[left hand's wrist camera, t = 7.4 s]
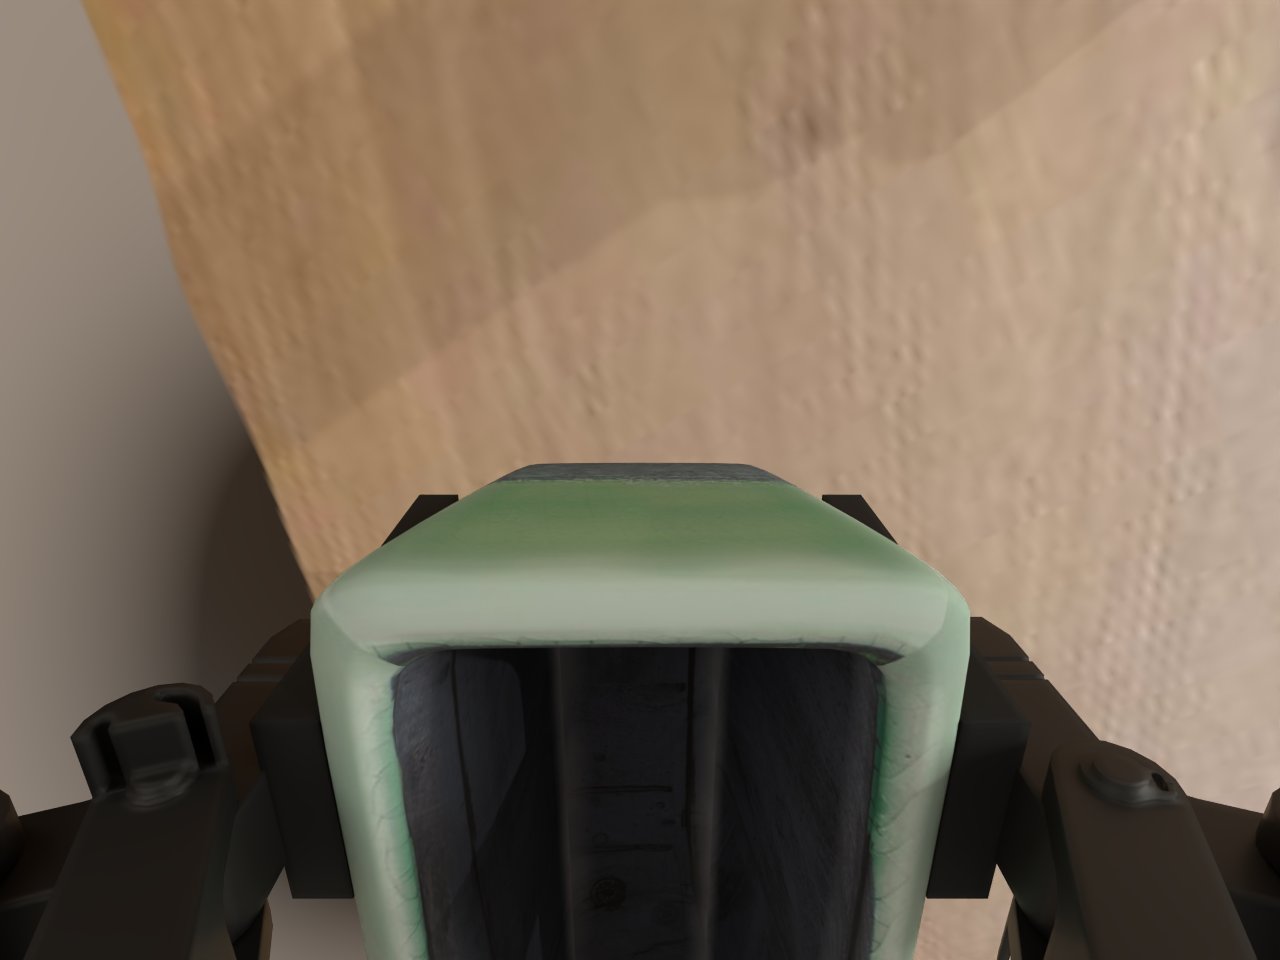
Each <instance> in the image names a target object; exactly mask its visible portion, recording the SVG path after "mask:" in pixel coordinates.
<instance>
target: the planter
mask: <svg viewBox="0 0 1280 960" xmlns="http://www.w3.org/2000/svg"><path fill="white" fill-rule="evenodd" d="M310 655H311V662H312V668H313V674H314V681H315V687H316V693H317V699H318V706H319V712H320V718H321V724H322V731H323V737H324V743H325V749H326V754H327V759H328V764H329V769H330V774H331V779H332V784H333V790H334V795H335V800H336V805H337V810H338V815H339V820H340V825H341V830H342V835H343V840H344V845H345V850H346V855H347V860H348V865H349V870H350V875H351V880H352V885H353V890H354V896H355V901H356V906H357V910H358V915H359V920H360V925H361V930H362V935H363V940H364V945H365V950H366V955H367V959H368V960H913V957H914V952H915V947H916V942H917V937H918V932H919V927H920V922H921V917H922V912H923V907H924V902H925V897H926V892H927V887H928V881H929V876H930V871H931V866H932V861H933V856H934V851H935V846H936V841H937V836H938V831H939V826H940V821H941V815H942V810H943V805H944V800H945V795H946V790H947V785H948V779H949V774H950V769H951V764H952V759H953V754H954V749H955V743H956V737H957V730H958V724H959V718H960V712H961V706H962V699H963V693H964V687H965V681H966V674H967V668H968V662H969V656H970V610H969V607H968V605H967V602H966V600H965V599H964V598H963V596H962V595H961V594H960V593H959V591H958V590H957V589H956V588H955V587H954V586H953V585H952V584H951V583H950V582H949V581H948V580H947V579H946V578H945V577H944V576H943V575H942V574H941V573H940V572H938V571H937V570H935V569H934V568H932V567H931V566H929V565H928V564H927V563H925V562H924V561H922V560H921V559H919V558H918V557H917V556H915V555H914V554H912V553H911V552H909V551H907V550H906V549H904V548H902V547H901V546H899V545H897V544H896V543H894V542H892V541H891V540H889V539H887V538H886V537H884V536H883V535H881V534H879V533H878V532H876V531H874V530H873V529H871V528H869V527H868V526H866V525H864V524H863V523H861V522H859V521H858V520H856V519H854V518H852V517H850V516H849V515H847V514H845V513H843V512H842V511H840V510H838V509H836V508H835V507H833V506H831V505H829V504H828V503H826V502H824V501H822V500H820V499H819V498H817V497H815V496H813V495H811V494H809V493H808V492H806V491H804V490H802V489H800V488H798V487H797V486H795V485H793V484H791V483H789V482H787V481H785V480H783V479H781V478H779V477H777V476H775V475H773V474H771V473H769V472H767V471H765V470H762V469H760V468H757V467H754V466H751V465H745V464H724V463H559V464H535V465H529V466H526V467H523V468H521V469H518V470H516V471H514V472H511V473H509V474H507V475H505V476H503V477H501V478H499V479H498V480H496V481H494V482H492V483H490V484H488V485H486V486H484V487H482V488H481V489H479V490H477V491H475V492H473V493H472V494H470V495H468V496H466V497H464V498H462V499H461V500H459V501H457V502H455V503H453V504H452V505H450V506H448V507H447V508H445V509H443V510H441V511H440V512H438V513H436V514H434V515H433V516H431V517H429V518H427V519H426V520H424V521H422V522H420V523H419V524H417V525H416V526H414V527H412V528H411V529H409V530H408V531H406V532H404V533H403V534H401V535H399V536H398V537H396V538H395V539H393V540H391V541H390V542H388V543H386V544H385V545H383V546H381V547H380V548H378V549H376V550H375V551H373V552H372V553H370V554H369V555H367V556H366V557H364V558H363V559H361V560H360V561H359V562H357V563H356V564H354V565H353V566H351V567H350V568H349V569H347V570H346V571H344V572H343V573H342V574H341V575H340V576H338V577H337V578H336V579H335V580H334V581H333V582H332V583H331V584H330V585H329V586H328V587H327V588H326V589H325V590H324V591H323V593H322V594H321V595H320V596H319V597H318V598H317V599H316V601H315V603H314V605H313V608H312V610H311V642H310Z"/></svg>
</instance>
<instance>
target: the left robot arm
mask: <svg viewBox="0 0 1280 960" xmlns="http://www.w3.org/2000/svg"><path fill="white" fill-rule="evenodd" d="M457 501H459V499H458V495H419V496H418V498H417V499H416V500H415V502H414V503H413V504H412V506H411V507H410V508H409V510H408V511H407V512H406V514H405V515H404V516H403V518H402V519H401V520H400V522H399V523H398V524H397V526H396V527H395V528H394V530H393V531H392V532H391V534H390V535H389V536H388V538H387V539H386V540H385V542H384V543H383V544H382V546H383V545H385V544H386V543H388V542H390V541H391V540H393V539H395V538H396V537H398V536H399V535H401V534H403V533H404V532H406V531H408V530H409V529H411V528H412V527H414V526H416V525H417V524H419V523H420V522H422V521H424V520H426V519H427V518H429V517H431V516H433V515H434V514H436V513H438V512H440V511H441V510H443V509H445V508H447V507H448V506H450V505H452V504H453V503H455V502H457ZM822 501H824V502H826V503H828V504H829V505H831V506H833V507H835V508H836V509H838V510H840V511H842V512H843V513H845V514H847V515H849V516H850V517H852V518H854V519H856V520H858V521H859V522H861V523H863V524H864V525H866V526H868V527H869V528H871V529H873V530H874V531H876V532H878V533H879V534H881V535H883V536H884V537H886V538H887V539H889V540H891V541H892V542H894V543H896V544H897V542H896V541H895V540H894V538H893V537H892V536H891V534H890V533H889V532H888V530H887V529H886V528H885V526H884V525H883V524H882V522H881V521H880V520H879V518H878V517H877V516H876V514H875V513H874V512H873V510H872V509H871V508H870V506H869V505H868V504H867V502H866V501H865V500H864V498H863V497H862V496H861V495H822ZM897 545H898V544H897ZM310 642H311V619H299V620H297V621H296V622H294V623H293V624H291V625H290V626H288V627H287V628H285V629H283V630H282V631H280V632H279V633H277V634H276V635H274V636H273V637H271V638H270V639H269V640H268V642H267V643H266V644H265V645H264V646H263V647H262V649H261V650H260V651H259V652H258V653H257V655H256V656H255V657H254V658H253V659H252V664H248V665H247V666H246V668H245V669H244V670H243V671H242V672H241V674H240V675H239V676H238V677H237V682H233V683H232V684H231V685H230V687H229V688H228V689H227V690H226V691H225V693H224V694H223V695H222V696H221V697H220V698H219V700H218V701H217V702H216V703H214V700H213V696H212V694H211V693H210V692H208V691H207V690H206V689H204V688H203V687H202V686H199V685H193V684H187V683H175V684H165V685H157V686H153V687H150V688H147V689H143V690H140V691H136V692H133V693H130V694H128V695H126V696H124V697H122V698H119V699H117V700H115V701H113V702H111V703H109V704H107V705H105V706H103V707H102V708H101V709H99V710H98V711H96V712H95V713H94V714H92V715H91V716H89V717H88V718H87V719H85V720H84V721H83V722H82V723H81V725H80V726H79V727H78V728H77V729H76V731H75V732H74V733H73V734H72V736H71V737H70V738H71V740H72V743H73V746H74V748H75V751H76V754H77V757H78V759H79V762H80V765H81V767H82V770H83V773H84V775H85V778H86V781H87V784H88V786H89V789H90V792H91V794H92V797H93V798H92V799H91V800H87V801H84V802H80V803H76V804H71V805H67V806H62V807H58V808H53V809H49V810H45V811H40V812H36V813H31V814H27V815H23V816H18V815H17V813H16V811H15V808H14V806H13V803H12V801H11V799H10V796H9V795H8V794H6V793H5V792H3V791H2V790H0V960H269V958H270V948H271V938H272V929H273V924H272V917H271V911H270V907H269V903H268V899H267V897H268V895H269V894H270V892H271V890H272V888H273V886H274V884H275V882H276V881H277V879H278V877H279V875H280V873H281V871H282V869H283V867H284V866H285V870H286V874H287V878H288V882H289V886H290V890H291V894H292V898H354V890H353V885H352V880H351V875H350V870H349V865H348V860H347V855H346V850H345V845H344V840H343V835H342V830H341V825H340V820H339V815H338V810H337V805H336V800H335V795H334V790H333V784H332V779H331V774H330V769H329V764H328V759H327V754H326V749H325V743H324V737H323V731H322V724H321V718H320V712H319V706H318V699H317V693H316V687H315V681H314V674H313V668H312V662H311V655H310ZM996 864H997V865H998V867H999V869H1000V870H1001V872H1002V874H1003V876H1004V878H1005V880H1006V882H1007V884H1008V885H1009V887H1010V889H1011V891H1012V893H1013V895H1014V896H1013V899H1012V903H1011V907H1010V910H1009V914H1008V918H1007V921H1006V925H1005V929H1004V933H1003V936H1002V940H1001V944H1000V947H999V951H998V956H997V960H1009V958H1010V956H1011V960H1280V788H1279V789H1277V790H1276V791H1274V792H1273V793H1272V796H1271V798H1270V800H1269V803H1268V805H1267V807H1266V810H1265V812H1264V814H1263V813H1258V812H1254V811H1249V810H1245V809H1240V808H1236V807H1232V806H1227V805H1223V804H1218V803H1214V802H1210V801H1205V800H1201V799H1197V798H1193V797H1190V796H1187V795H1186V794H1185V792H1184V791H1183V789H1182V788H1181V786H1180V785H1179V784H1178V782H1177V781H1176V779H1175V778H1174V777H1172V776H1171V775H1170V774H1169V773H1167V772H1166V771H1165V770H1164V769H1163V768H1161V767H1160V766H1159V765H1158V764H1156V763H1155V762H1153V761H1152V760H1150V759H1148V758H1146V757H1144V756H1142V755H1140V754H1138V753H1137V752H1135V751H1133V750H1131V749H1128V748H1125V747H1122V746H1119V745H1116V744H1113V743H1110V742H1106V741H1100V740H1099V739H1098V738H1097V737H1096V736H1095V735H1094V733H1093V732H1092V731H1091V730H1090V729H1089V727H1088V726H1087V725H1086V724H1085V723H1084V722H1083V720H1082V719H1081V718H1080V717H1079V716H1078V715H1077V713H1076V712H1075V711H1074V710H1073V709H1072V707H1071V706H1070V705H1069V704H1068V703H1067V702H1066V700H1065V699H1064V698H1063V697H1062V696H1061V695H1060V693H1059V692H1058V691H1057V690H1056V689H1055V687H1054V686H1053V685H1052V684H1051V683H1050V682H1049V680H1045V679H1044V675H1043V673H1042V672H1041V671H1040V670H1039V669H1038V668H1037V666H1036V665H1035V664H1034V663H1033V662H1032V661H1029V657H1028V656H1027V655H1026V653H1025V652H1024V651H1023V650H1022V649H1021V648H1020V646H1019V645H1018V644H1017V643H1016V642H1015V640H1014V639H1013V638H1012V637H1011V636H1010V635H1009V634H1007V633H1006V632H1004V631H1003V630H1001V629H999V628H998V627H996V626H995V625H993V624H992V623H990V622H989V621H987V620H985V619H984V618H982V617H970V656H969V662H968V668H967V674H966V681H965V687H964V693H963V699H962V706H961V712H960V718H959V724H958V730H957V737H956V743H955V749H954V754H953V759H952V764H951V769H950V774H949V779H948V785H947V790H946V795H945V800H944V805H943V810H942V815H941V821H940V826H939V831H938V836H937V841H936V846H935V851H934V856H933V861H932V866H931V871H930V876H929V881H928V887H927V892H926V897H927V898H928V899H988V896H989V892H990V888H991V884H992V880H993V876H994V872H995V868H996Z"/></svg>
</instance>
